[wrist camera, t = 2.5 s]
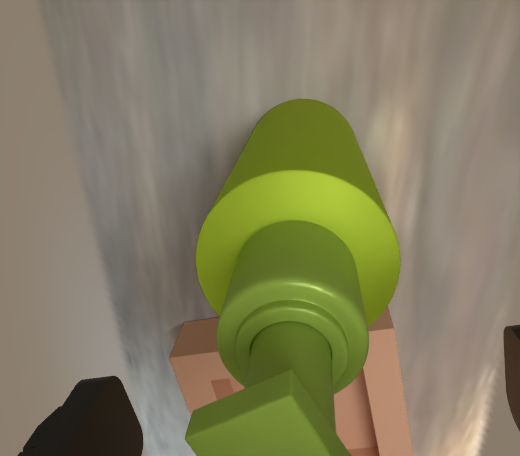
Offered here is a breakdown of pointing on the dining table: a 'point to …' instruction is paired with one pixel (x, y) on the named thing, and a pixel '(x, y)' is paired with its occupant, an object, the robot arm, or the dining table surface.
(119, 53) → the dining table surface
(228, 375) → the tray
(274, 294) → the green pump bottle
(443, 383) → the dining table surface
